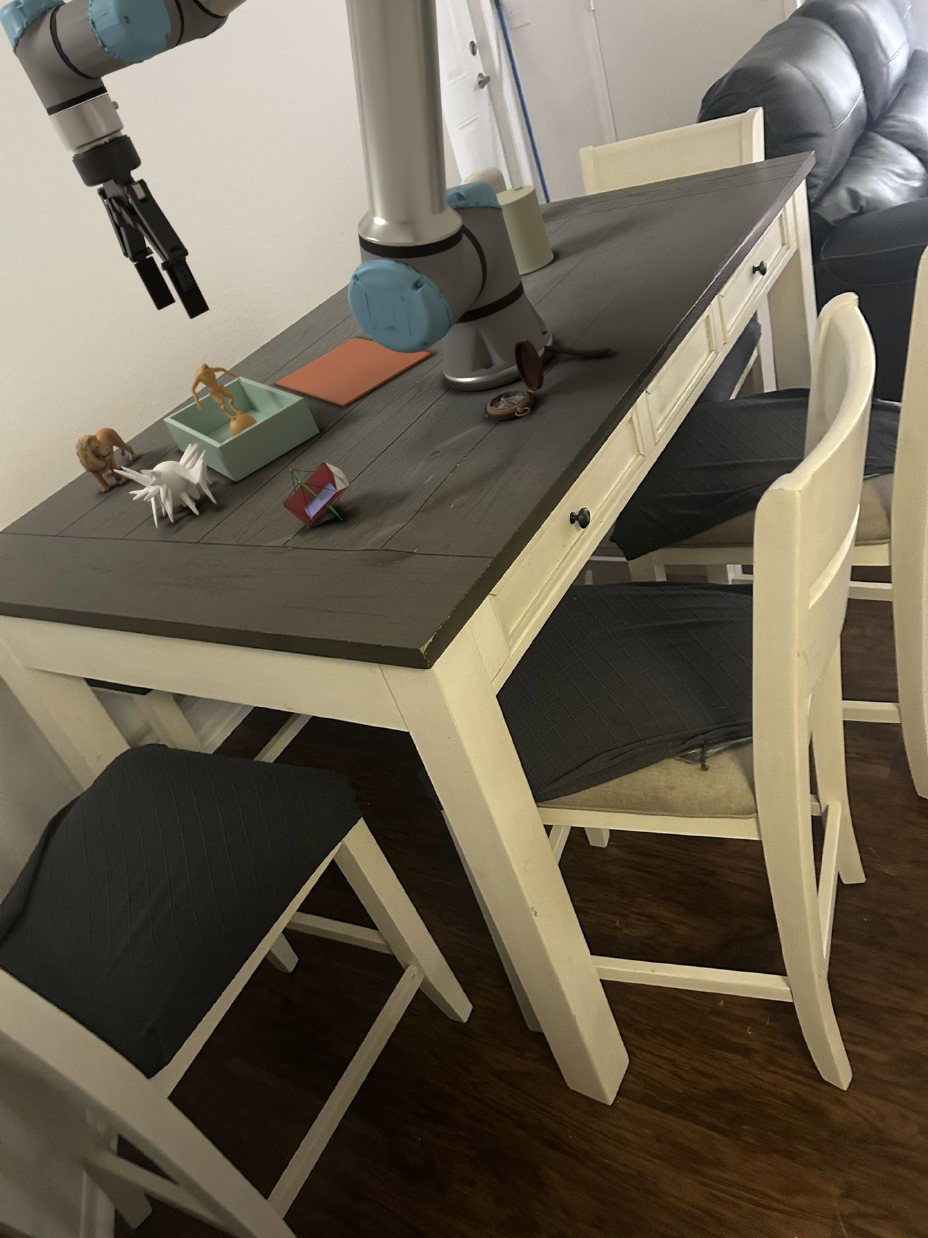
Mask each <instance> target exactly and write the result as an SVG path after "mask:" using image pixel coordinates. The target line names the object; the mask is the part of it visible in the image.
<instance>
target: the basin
mask: <svg viewBox="0 0 928 1238" xmlns="http://www.w3.org/2000/svg"><path fill="white" fill-rule="evenodd" d="M238 377H239V378H240V379H241V380H242V382H241V381H240V380H238V378H235V379H233V380H231V381H229V382H228V383H226V384H223V385H224V386H225V388H226V389H227V390H228V391H230V392H231V393H232V394H233V395H234V404H233V405H234V406H235V407H236V408H237V409H238V410H239V411H241V412H243V413H245V414H249V415H251V416H252V417H254V419H255V420H256V421H257V423H256V424H254V425H252V426H250V427H249V428H247V429H245V430H244V431H242V432H240V433H238V434H237V435H235V436H232V434H231V432H230V422H231V419H230V418H229V417H228V416H227V415H226V414H225V413H224V411H223V410H222V409H221V406H222V405H221V404H219V403H217V402H216V401H215V400H214V399H213V398H211V397H210V395H209V393H208V394H206V395H205V396H203V397H201V398H198V400H199V403H200V404H203V405H201V406H202V407H203V408H204V409H203V408H202V407H201V408H202V410H200V409H199V408H198V406H197V403H196V401H195V400H194V402H192V403H190V404H188V405H186V406H185V407H183V408H181V409H179V410H178V411H176V412H174V413H172V414H170V415H168V416H167V417H165V418H163V421H164V424H165V425H166V427H167V429H168V431H169V433H170V434H171V436H172V437H173V438H172V439H174V441H175V443H176V445H177V446H178V449H179V451H181V452H183V453H185V451H186V449H187V447H188V446H189V444H191V447H192V446H193V445H195V443H197V444H198V445H199V447H198V450H197V452H199V453H198V456H197V459H199V458H200V456H201V454H202V453H203V451H204V450H205V449H206V452H205V457H206V465H207V467H209V468H211V469H213V470H215V471H216V472H218V473H219V474H221V475H223V476H225V477H226V478H229V479H230V480H232V481H234V482H236V483H237V482H239V481H241V480H242V479H244V478H245V477H247V476H249V475H251V474H252V473H254V472H256V471H257V470H259V469H261V468H262V467H265V466H266V465H268V464H269V463H271V462H273V461H275V460H276V459H277V458H279V457H280V456H282V455H285V454H286V453H287V452H289V451H291V450H293V449H294V448H296V447H298V446H299V445H301V444H302V443H304V442H306V441H307V440H309V439H311V438H312V437H314V436H316V435H317V434H319V433H320V429H319V428H318V426H317V423H316V421H315V419H314V417H313V415H312V413H311V410H310V408H309V406H308V404H307V401H306V399H305V397H302V396H300V395H296V394H294V393H290V392H288V391H284V390H281V389H279V388H277V387H276V388H275V387H273V386H269V385H267V384H264V383H260V382H258V381H255V380H252V379H249V378H245V377H243V376H238ZM220 394H221V395H222V393H221V392H220ZM222 397H223V399H224V401H225V404H226V410H227V411H228V412H229V413H230V414H231V415H233V416H236V415H237V413H236V412H235V411H234V410H233V409H232V408H231V406H230V404H229V401H230V398H229V397H225V396H223V395H222Z"/></svg>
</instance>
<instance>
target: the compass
mask: <svg viewBox="0 0 928 1238" xmlns="http://www.w3.org/2000/svg"><path fill="white" fill-rule="evenodd" d="M514 352H515V361H516V365H517V369H518V372H519V374H520V377H521V378H520V379H521V381H522V382H523V384H524V386H525V387H526V389H527V390H524V389H519V388H517V389H516V388H515V389H509V390H505V391H503V392H501V393H498V394H497V395H495V396H494V397H493V398H491V399H490V400H489V402H488V403H487V405H486V406H485V408H484V413H485V417H486V419H488V420H491V421H506V420H511V419H514V418H517V417H523V416H525V415H528V414H529V413H530V412H531V408H532V406H533V405H534V402H535V396H534V394H535V392H536V391H538V390H540V389H542V388H543V385H544V380H545V372H544V367H543V365H542V363H541V359H540V357H539V354H538V352H537V350H536V349H535V347H534V346H533V344H532V343H531V342H530V341H528V340H527V339H523V340H520V341H518V342H517V343H516V345H515V351H514Z"/></svg>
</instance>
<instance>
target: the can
mask: <svg viewBox="0 0 928 1238" xmlns="http://www.w3.org/2000/svg"><path fill="white" fill-rule="evenodd" d="M496 196H497V199H498V202H499V204H500V205H501V206H502V209H503V210H502V213H503V217H504V221H505V224H506V228H507V231H508V235H509V238H510V242H511V246H512V249H513V253H514V256H515V260H516V263H517V267H518V270H519V274H520V276H524V275H526V274H527V275H528V274H530V273H533V272H535V271H538V270H540V269H542V268H544V267H545V266H547V265H548V264H550V263H551V262H552V261H553V260H554V257H555V255H554V253H553V251H552V247H551V244H550V241H549V240H550V239H549V237H548V233H547V230H546V226H545V222H544V217H543V213H542V210H541V207H540V203H539V198H538V194H537V189H536V186H535V185H534V184H525V185H520V186H515V187H512V188H509V189H507V190H506V191H503V192H501V193H498V194H496Z"/></svg>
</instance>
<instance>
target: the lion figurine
mask: <svg viewBox="0 0 928 1238" xmlns="http://www.w3.org/2000/svg"><path fill="white" fill-rule="evenodd" d="M114 447H116V448H118V449H120V450H119V451H120V456H121V457H125V456H126V455H127V454H126V452H127V453H128V455H129V460H130V461H131V462H133V461H135V460H137V459H138V455H137V454H136V453H135V451H134V450H133V448H132V446H130V444H127V443H126V442H125V441H124V440H123V439H122V437H121V436H120V435H119V434H118V433H117V431H116V430H115V429H113V428H110V427H103V428H100V429H99V430H97V432H95V434H88V435H87V434H85V435H83V436H81V437H80V438H79V439H78V441H77V442H76V445H75V449H76V450H75V454H76V456H77V457H78V459H79V463H80V465H81V466H82V467H83V469H84V470H85V471H86V472H87V473H91V474H92V476H93V477H94V478H95V479H96V481H97V482H98V483H99V484H100V485H101V486H102V487H101V489H100V490H101V492H103V493H106V492H108V491H109V490H110V484H109V483H108V482H107V480H106V479H105V478H104V477H103V474H106V473H107V472H108V473H109V474H110V475H112V474H113V477H114V479H115V481H116V482H117V484H118V485H121V486H122V485H123V484H125V483H127V481H128V480H127V479H126V478H125V477H124V475H121V474H119V473H117V472H115V471H114V470H119V468H118V466H117V459H116V458H115V457H114V455H115V452H114ZM125 451H126V452H125Z"/></svg>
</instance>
